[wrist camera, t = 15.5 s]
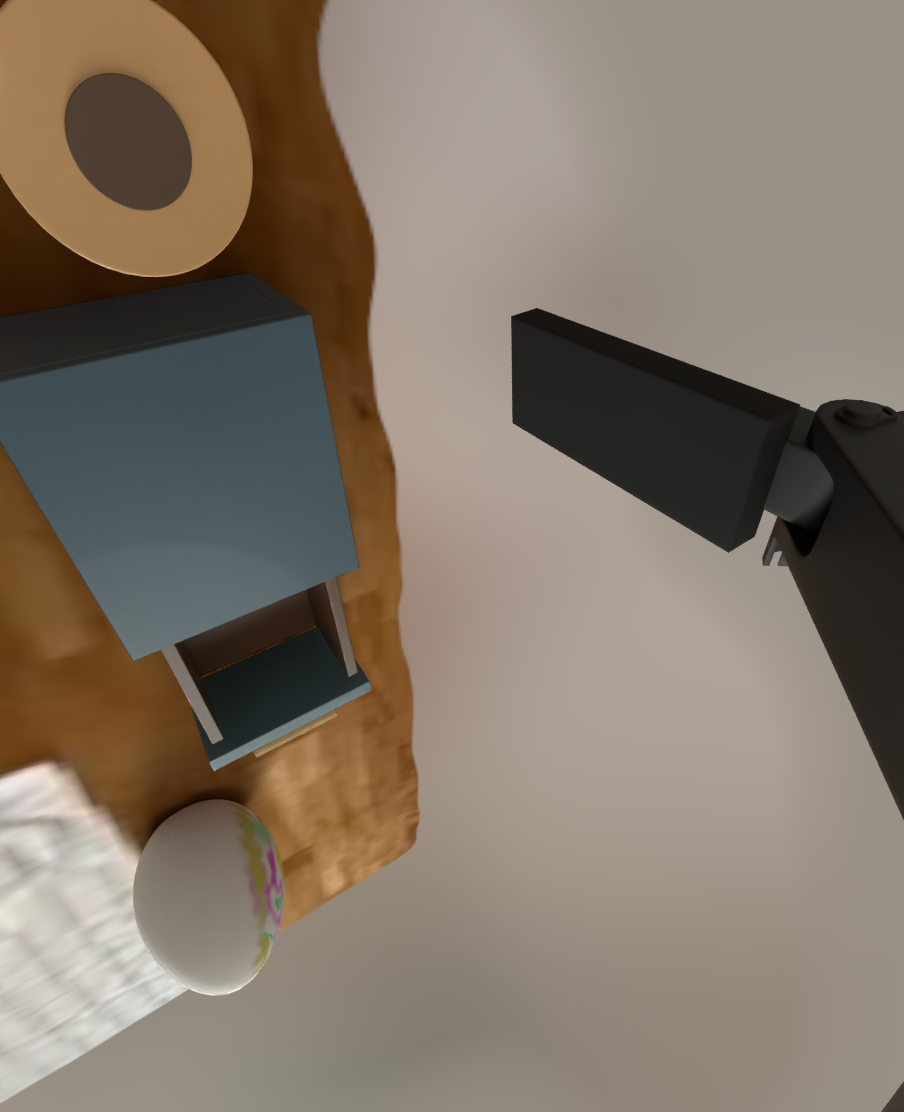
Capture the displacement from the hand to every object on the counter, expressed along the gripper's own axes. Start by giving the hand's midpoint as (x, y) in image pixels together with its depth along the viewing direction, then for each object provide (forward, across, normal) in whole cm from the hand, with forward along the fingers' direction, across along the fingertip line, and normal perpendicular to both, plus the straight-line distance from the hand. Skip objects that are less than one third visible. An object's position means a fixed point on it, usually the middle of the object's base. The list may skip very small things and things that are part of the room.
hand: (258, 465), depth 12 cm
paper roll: (+26, +1, +5) cm, 26 cm away
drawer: (+25, -1, -26) cm, 36 cm away
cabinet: (+26, 0, -10) cm, 28 cm away
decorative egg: (+26, -13, -49) cm, 57 cm away
